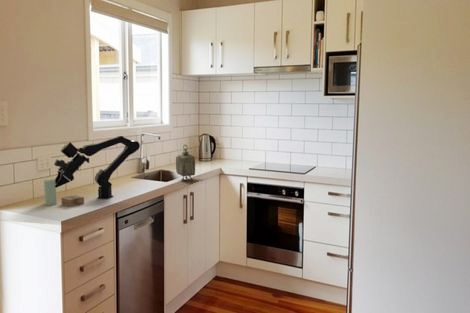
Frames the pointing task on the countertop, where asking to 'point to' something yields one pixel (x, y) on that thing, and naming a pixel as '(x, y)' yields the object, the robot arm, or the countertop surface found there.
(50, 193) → the sage green block
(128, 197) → the countertop surface
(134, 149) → the robot arm
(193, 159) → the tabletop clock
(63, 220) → the countertop surface
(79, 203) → the walnut block
